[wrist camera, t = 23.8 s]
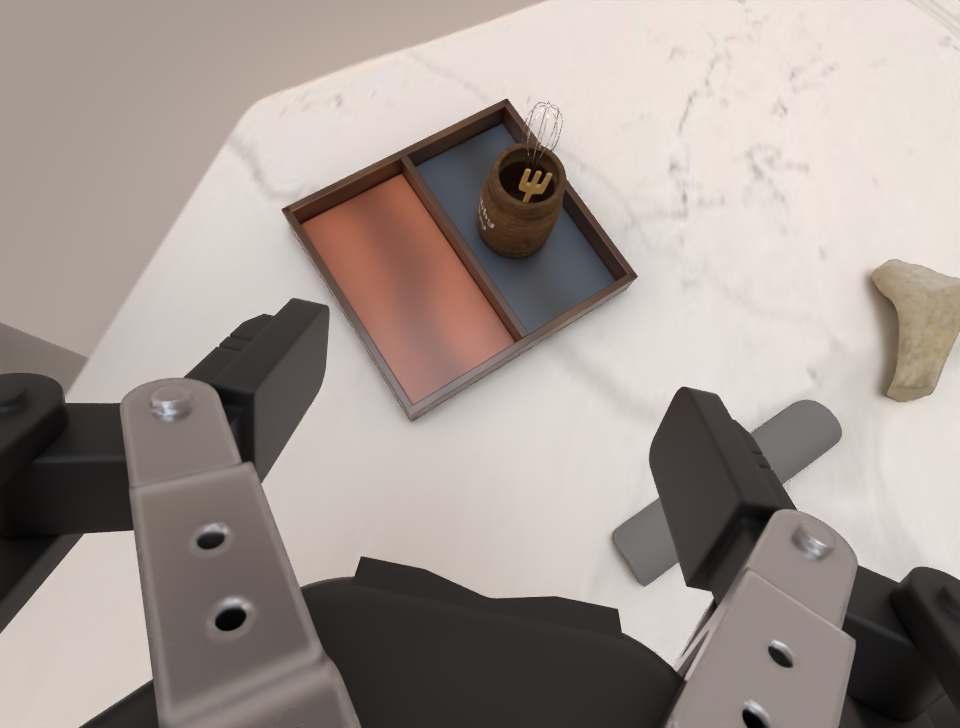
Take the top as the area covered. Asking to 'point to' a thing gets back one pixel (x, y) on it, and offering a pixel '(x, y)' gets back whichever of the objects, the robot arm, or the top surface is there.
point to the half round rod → (783, 444)
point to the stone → (920, 324)
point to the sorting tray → (449, 262)
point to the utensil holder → (522, 197)
